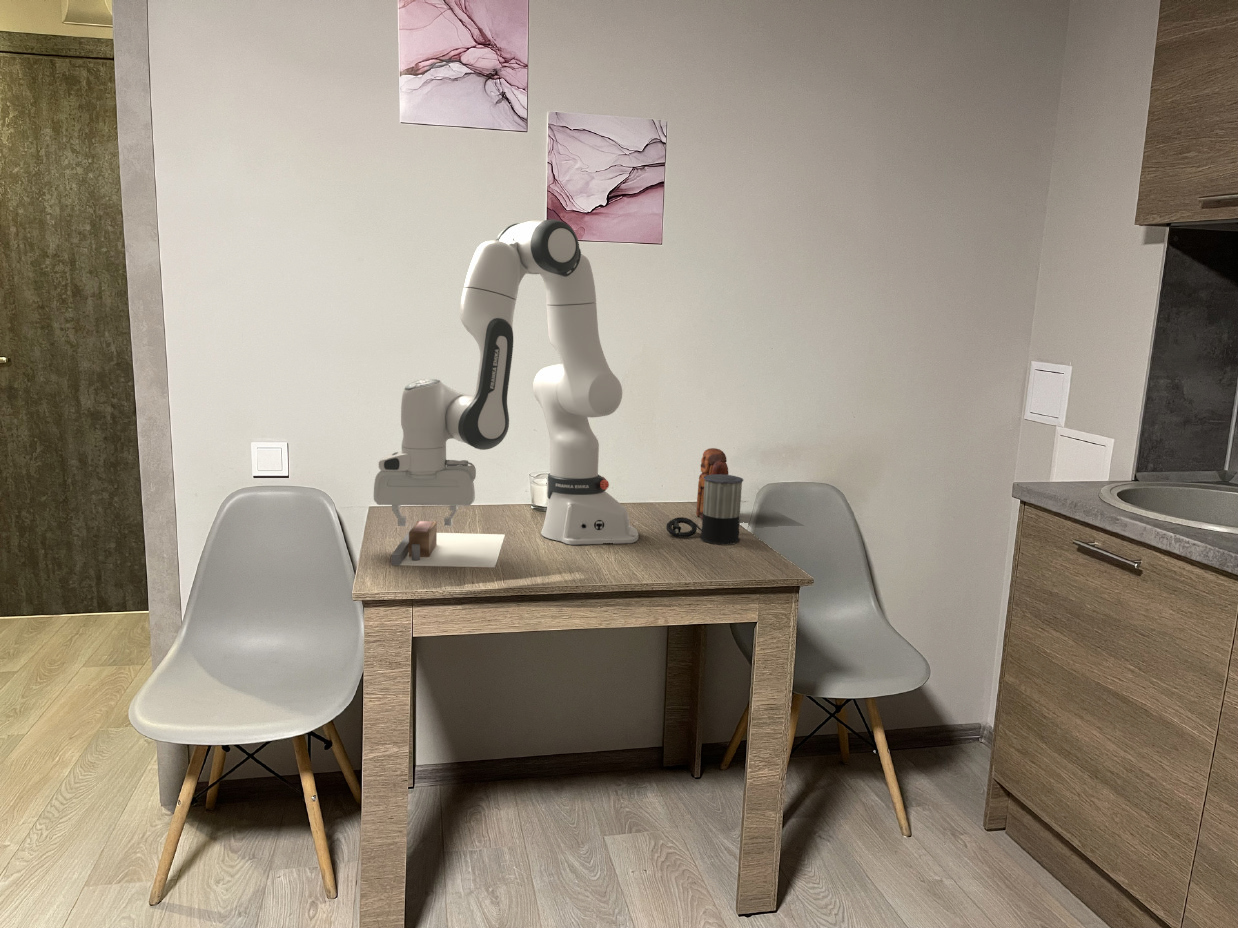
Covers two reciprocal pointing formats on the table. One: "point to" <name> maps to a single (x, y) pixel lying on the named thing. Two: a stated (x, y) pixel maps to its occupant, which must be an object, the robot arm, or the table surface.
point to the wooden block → (423, 537)
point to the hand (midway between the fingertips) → (425, 525)
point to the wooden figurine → (710, 472)
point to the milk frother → (716, 511)
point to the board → (453, 551)
